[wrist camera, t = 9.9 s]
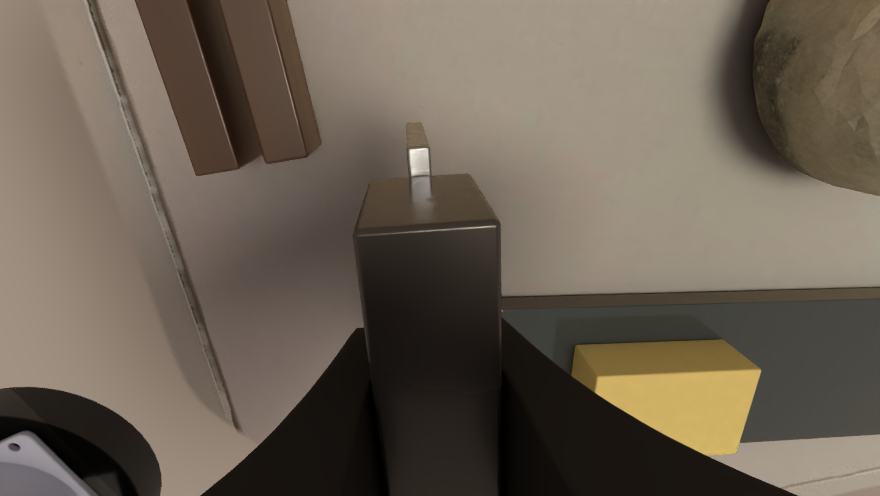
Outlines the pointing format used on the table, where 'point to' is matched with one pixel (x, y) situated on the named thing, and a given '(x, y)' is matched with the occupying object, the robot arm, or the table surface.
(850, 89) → the stone
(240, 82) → the knife rack
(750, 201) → the table surface
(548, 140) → the table surface
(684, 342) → the butter stick
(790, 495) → the robot arm
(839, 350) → the butter board
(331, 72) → the table surface
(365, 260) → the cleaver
